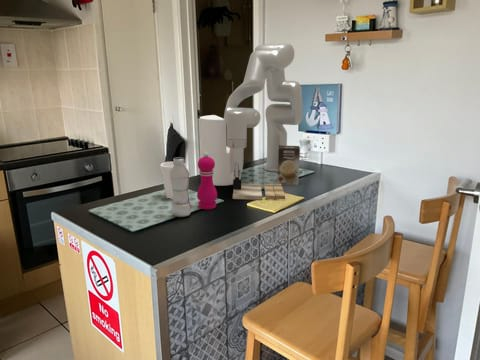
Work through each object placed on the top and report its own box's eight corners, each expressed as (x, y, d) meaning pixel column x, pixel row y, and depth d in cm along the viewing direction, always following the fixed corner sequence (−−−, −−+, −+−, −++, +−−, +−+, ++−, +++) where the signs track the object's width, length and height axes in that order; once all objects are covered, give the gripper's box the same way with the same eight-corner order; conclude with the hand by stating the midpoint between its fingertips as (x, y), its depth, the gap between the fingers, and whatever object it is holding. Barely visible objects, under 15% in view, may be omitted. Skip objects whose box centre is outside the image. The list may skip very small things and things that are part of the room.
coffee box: (277, 185, 171) (277, 148, 166) (277, 181, 177) (277, 145, 173) (298, 185, 170) (300, 148, 166) (298, 181, 176) (299, 145, 172)
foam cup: (190, 197, 155) (189, 165, 152) (167, 201, 151) (165, 168, 147) (180, 191, 163) (179, 160, 159) (159, 195, 158) (157, 163, 155)
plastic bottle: (183, 220, 132) (180, 161, 127) (167, 216, 136) (164, 159, 130) (195, 214, 137) (193, 157, 132) (180, 211, 141) (177, 155, 135)
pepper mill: (202, 211, 140) (200, 155, 135) (194, 205, 147) (192, 151, 141) (220, 208, 144) (219, 153, 138) (212, 202, 150) (211, 149, 144)
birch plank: (233, 186, 167) (234, 183, 166) (260, 187, 167) (260, 184, 166) (232, 198, 151) (232, 194, 151) (261, 199, 151) (262, 196, 151)
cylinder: (207, 187, 168) (205, 120, 161) (197, 177, 184) (195, 115, 176) (246, 183, 174) (246, 118, 166) (233, 173, 189) (233, 114, 182)
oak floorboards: (263, 188, 167) (264, 184, 166) (281, 188, 167) (281, 184, 166) (265, 200, 152) (265, 196, 151) (284, 200, 151) (285, 196, 151)
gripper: (227, 139, 161) (228, 183, 166) (226, 146, 147) (226, 194, 152) (246, 139, 161) (246, 183, 166) (246, 146, 146) (246, 194, 151)
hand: (237, 188), depth 159 cm, fingers closed
